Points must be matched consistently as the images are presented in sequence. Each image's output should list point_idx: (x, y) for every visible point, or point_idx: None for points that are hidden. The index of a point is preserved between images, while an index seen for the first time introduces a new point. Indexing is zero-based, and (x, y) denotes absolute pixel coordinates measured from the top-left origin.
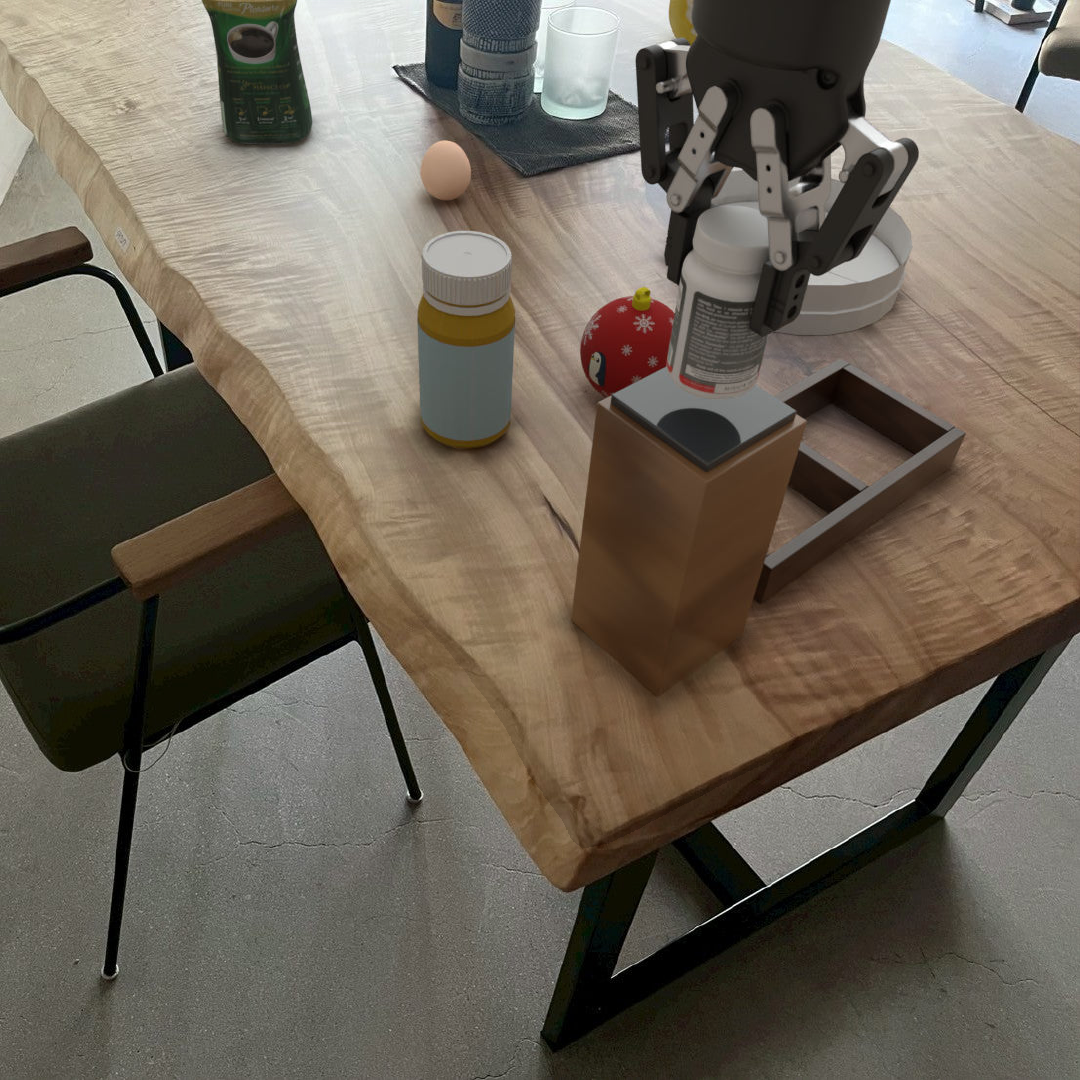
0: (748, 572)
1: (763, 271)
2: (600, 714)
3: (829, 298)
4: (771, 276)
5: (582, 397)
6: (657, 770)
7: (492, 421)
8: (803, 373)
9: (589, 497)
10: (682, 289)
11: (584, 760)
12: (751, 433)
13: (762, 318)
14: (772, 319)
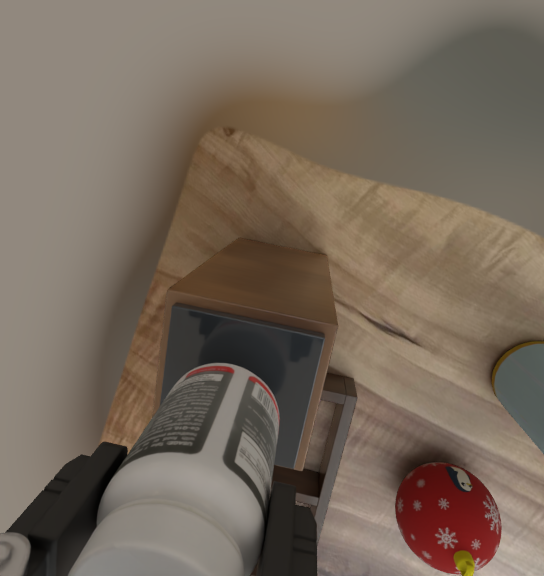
0: None
1: (62, 525)
2: (260, 199)
3: None
4: (44, 520)
5: (462, 457)
6: (204, 187)
7: (504, 377)
8: (331, 572)
9: (327, 286)
10: (235, 458)
11: (245, 160)
12: (168, 377)
13: (90, 459)
14: (81, 467)
